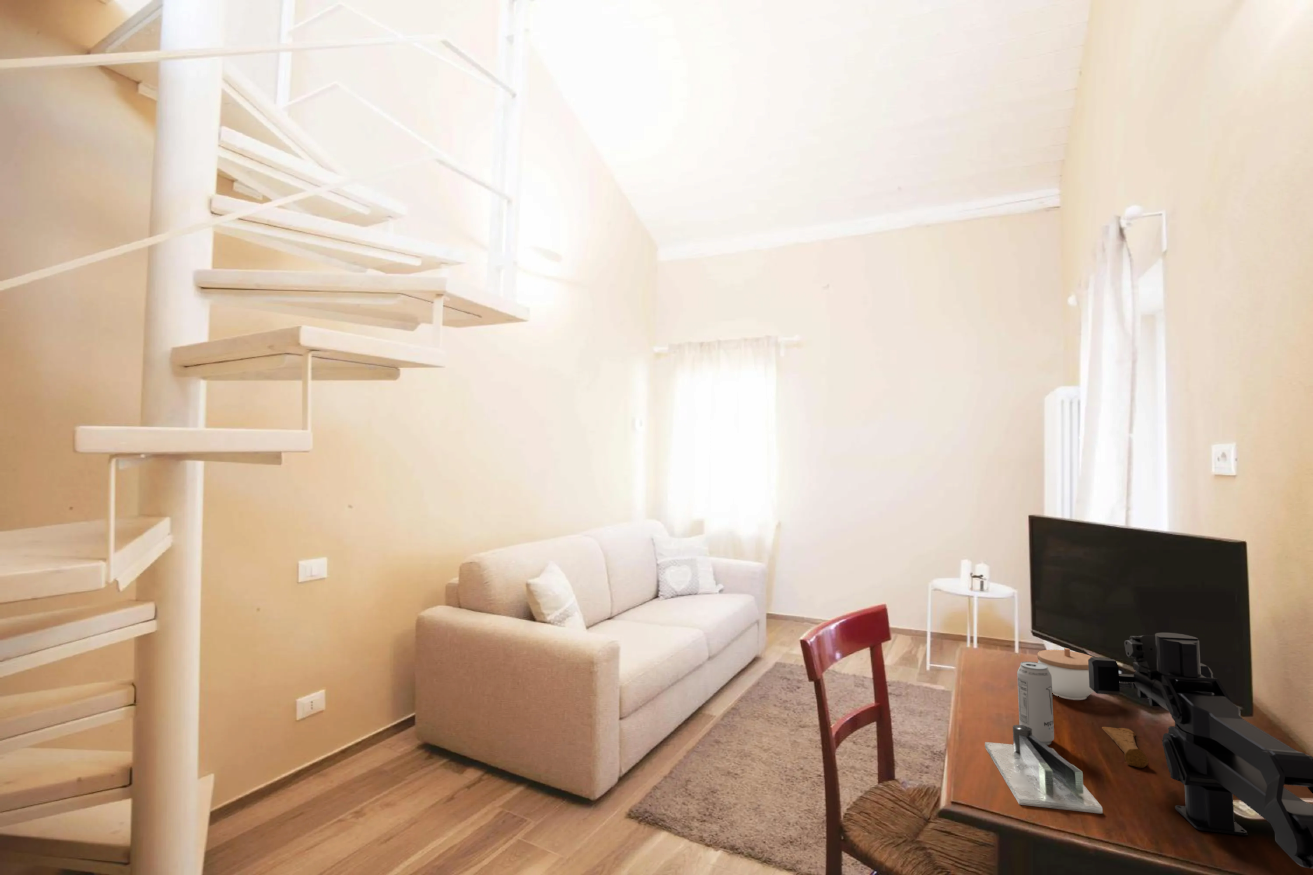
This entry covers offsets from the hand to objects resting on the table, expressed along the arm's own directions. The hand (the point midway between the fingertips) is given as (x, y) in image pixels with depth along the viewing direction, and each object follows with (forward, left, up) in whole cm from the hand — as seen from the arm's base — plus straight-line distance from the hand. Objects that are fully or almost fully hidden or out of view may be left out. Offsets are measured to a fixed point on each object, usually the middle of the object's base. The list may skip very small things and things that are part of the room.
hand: (1127, 664), depth 123 cm
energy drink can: (+2, +16, -17) cm, 23 cm away
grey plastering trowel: (-15, +21, -17) cm, 31 cm away
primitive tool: (+3, 0, -17) cm, 17 cm away
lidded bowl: (+32, 0, -17) cm, 36 cm away
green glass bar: (-16, +18, -15) cm, 29 cm away
